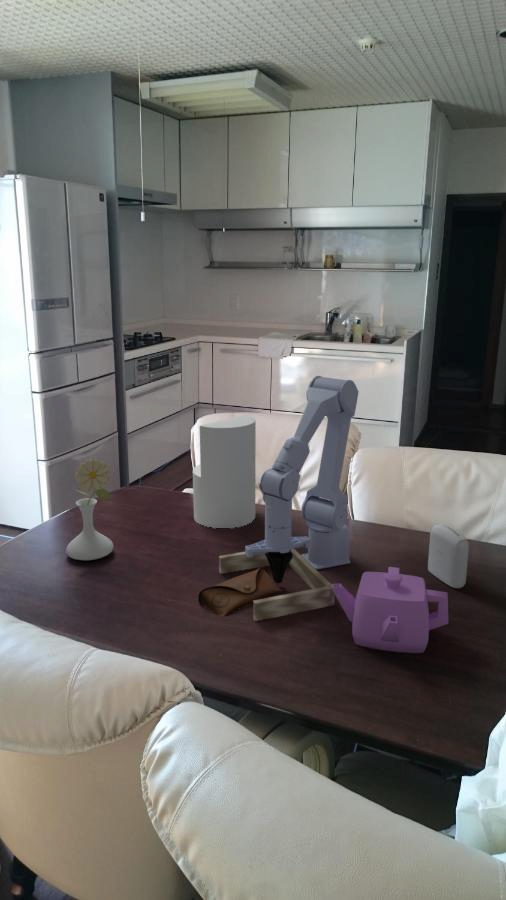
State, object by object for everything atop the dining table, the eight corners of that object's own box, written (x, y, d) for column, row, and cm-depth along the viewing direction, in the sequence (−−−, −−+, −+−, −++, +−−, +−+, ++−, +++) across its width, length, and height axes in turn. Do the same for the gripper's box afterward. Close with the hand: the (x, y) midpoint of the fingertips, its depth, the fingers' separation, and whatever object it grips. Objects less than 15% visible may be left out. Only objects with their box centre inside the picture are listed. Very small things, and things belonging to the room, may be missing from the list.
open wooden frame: (289, 559, 155) (289, 544, 154) (334, 605, 135) (334, 587, 133) (219, 571, 149) (219, 555, 148) (255, 621, 128) (255, 603, 127)
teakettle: (453, 641, 122) (459, 582, 118) (388, 670, 113) (392, 608, 110) (389, 603, 136) (393, 549, 132) (326, 626, 127) (328, 569, 123)
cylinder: (268, 516, 182) (268, 419, 174) (223, 534, 170) (222, 431, 162) (225, 501, 193) (224, 410, 185) (181, 517, 181) (178, 420, 173)
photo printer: (424, 570, 150) (428, 520, 146) (440, 567, 151) (444, 518, 148) (451, 590, 141) (457, 538, 137) (468, 587, 142) (473, 535, 139)
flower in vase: (56, 560, 155) (47, 461, 148) (85, 541, 165) (77, 448, 158) (102, 569, 150) (94, 467, 143) (128, 550, 160) (123, 454, 153)
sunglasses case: (222, 618, 129) (211, 586, 130) (204, 622, 135) (194, 591, 136) (287, 590, 141) (276, 561, 142) (268, 594, 146) (258, 566, 147)
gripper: (253, 535, 132) (253, 595, 136) (317, 525, 137) (315, 583, 141) (241, 523, 138) (241, 580, 142) (302, 514, 143) (301, 569, 147)
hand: (277, 581), depth 142 cm, fingers closed
